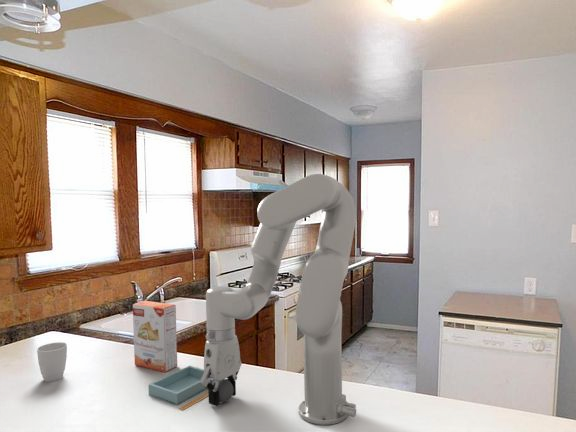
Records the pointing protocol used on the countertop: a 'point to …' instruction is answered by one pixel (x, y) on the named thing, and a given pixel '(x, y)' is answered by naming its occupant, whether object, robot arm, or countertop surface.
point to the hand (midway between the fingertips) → (222, 398)
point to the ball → (225, 390)
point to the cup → (52, 360)
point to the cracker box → (155, 335)
